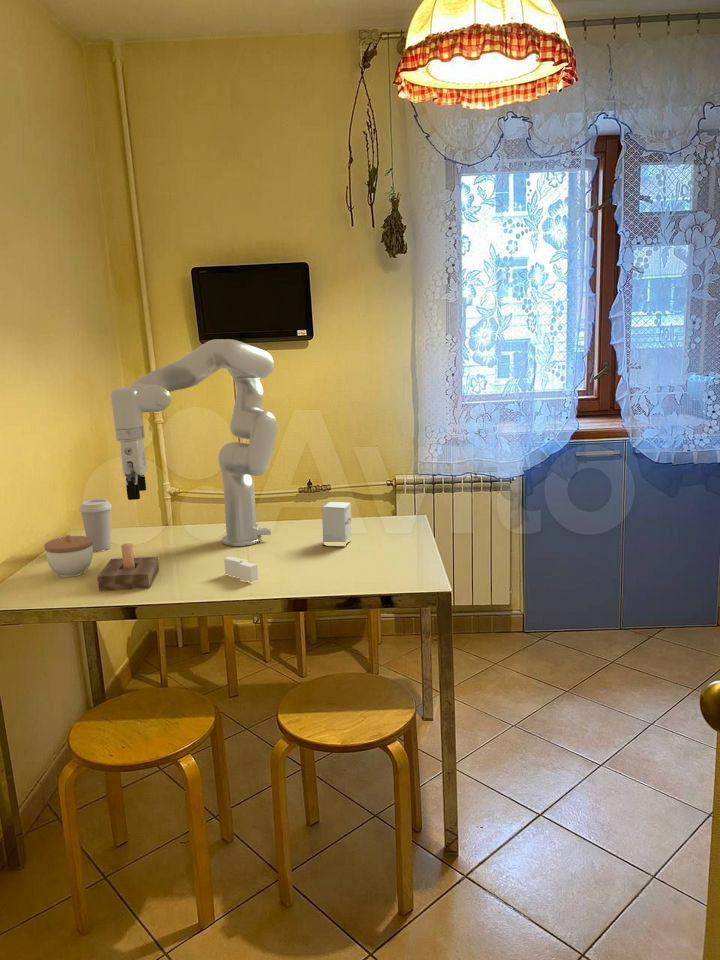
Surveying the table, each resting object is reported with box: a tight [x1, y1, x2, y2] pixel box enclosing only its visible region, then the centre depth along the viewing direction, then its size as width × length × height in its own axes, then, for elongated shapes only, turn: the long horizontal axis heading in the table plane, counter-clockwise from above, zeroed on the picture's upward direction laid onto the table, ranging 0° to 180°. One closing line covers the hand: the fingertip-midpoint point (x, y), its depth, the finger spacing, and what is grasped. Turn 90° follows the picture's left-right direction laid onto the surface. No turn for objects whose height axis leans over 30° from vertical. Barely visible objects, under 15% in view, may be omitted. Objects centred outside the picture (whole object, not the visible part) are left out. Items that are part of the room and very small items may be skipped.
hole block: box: [97, 556, 160, 592], centre depth 204 cm, size 13×15×4 cm
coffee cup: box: [78, 498, 113, 552], centre depth 233 cm, size 10×10×15 cm
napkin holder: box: [223, 555, 259, 582], centre depth 203 cm, size 15×11×6 cm
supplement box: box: [321, 501, 353, 543], centre depth 232 cm, size 7×7×13 cm
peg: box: [120, 543, 135, 569], centre depth 204 cm, size 3×3×10 cm
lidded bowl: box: [44, 534, 94, 578], centre depth 211 cm, size 13×13×11 cm
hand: (137, 494), depth 207 cm, fingers open, 9 cm apart
